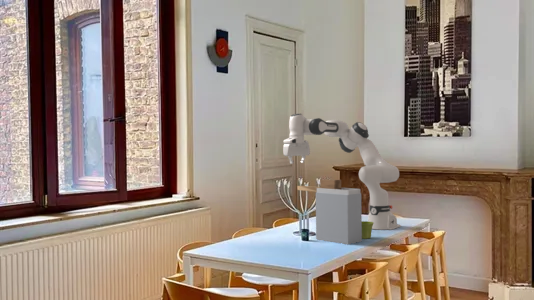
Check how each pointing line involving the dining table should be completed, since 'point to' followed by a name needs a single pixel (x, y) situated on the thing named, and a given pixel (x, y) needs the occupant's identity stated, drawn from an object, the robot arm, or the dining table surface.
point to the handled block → (323, 185)
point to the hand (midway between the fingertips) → (297, 163)
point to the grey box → (338, 215)
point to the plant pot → (366, 229)
